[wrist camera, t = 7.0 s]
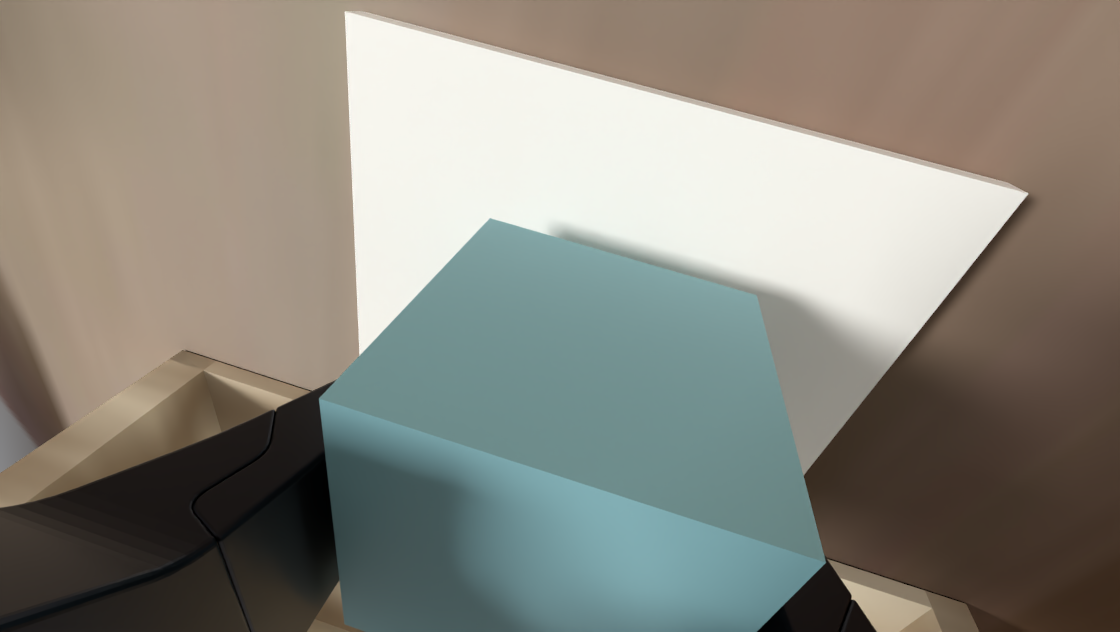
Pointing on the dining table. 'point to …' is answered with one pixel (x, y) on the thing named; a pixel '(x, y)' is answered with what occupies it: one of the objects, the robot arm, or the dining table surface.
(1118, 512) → the dining table surface
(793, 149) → the off-white mat
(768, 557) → the teal block
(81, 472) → the birch crate
